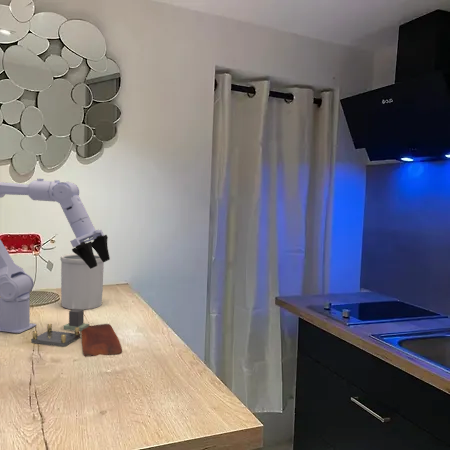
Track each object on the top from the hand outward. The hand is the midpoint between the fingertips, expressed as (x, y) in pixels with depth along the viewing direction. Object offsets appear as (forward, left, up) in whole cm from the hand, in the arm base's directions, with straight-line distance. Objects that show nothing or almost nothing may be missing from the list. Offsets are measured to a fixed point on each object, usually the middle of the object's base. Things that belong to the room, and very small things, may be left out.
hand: (100, 264), depth 135 cm
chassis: (-8, -9, -20) cm, 24 cm away
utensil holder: (-21, +26, -21) cm, 39 cm away
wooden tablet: (+2, -4, -21) cm, 22 cm away
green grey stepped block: (-9, +2, -21) cm, 23 cm away
